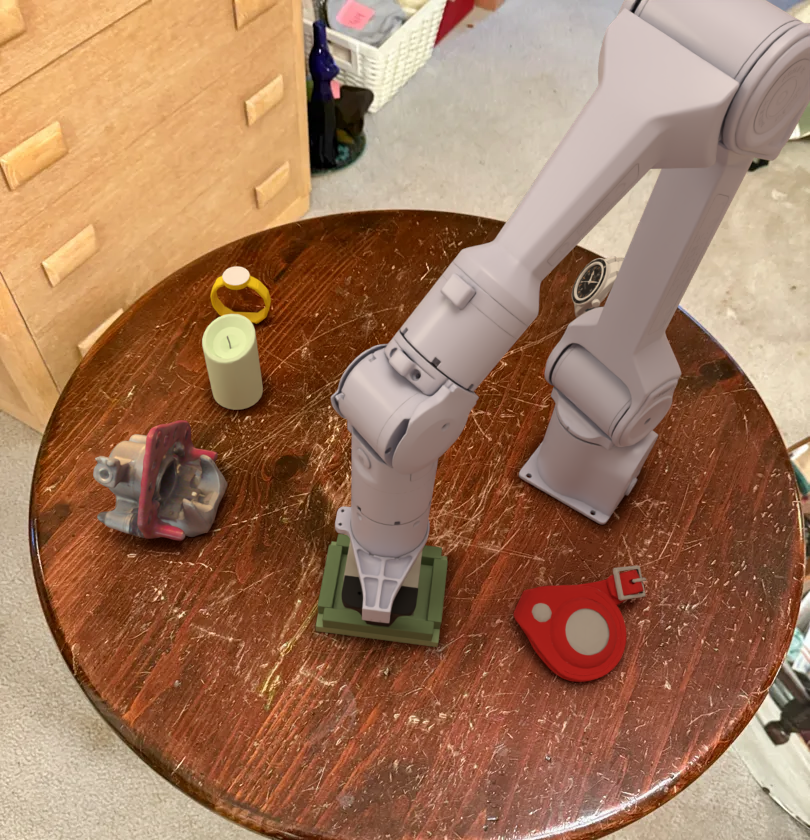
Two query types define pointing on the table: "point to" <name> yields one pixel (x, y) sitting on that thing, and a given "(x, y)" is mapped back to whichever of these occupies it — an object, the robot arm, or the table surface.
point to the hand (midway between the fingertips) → (384, 580)
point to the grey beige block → (410, 581)
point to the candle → (233, 361)
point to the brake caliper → (161, 484)
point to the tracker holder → (579, 623)
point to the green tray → (404, 628)
